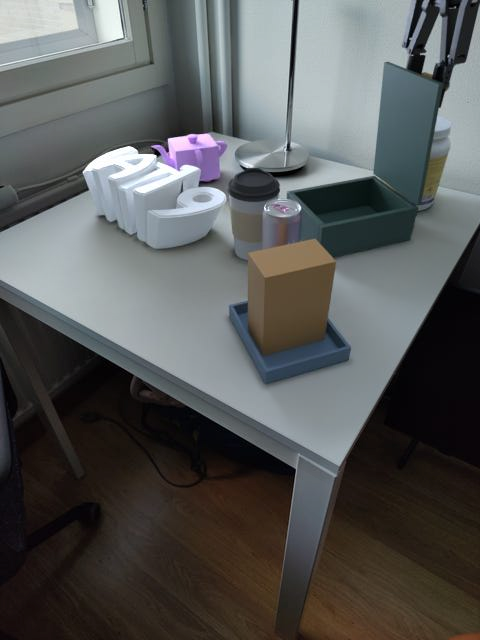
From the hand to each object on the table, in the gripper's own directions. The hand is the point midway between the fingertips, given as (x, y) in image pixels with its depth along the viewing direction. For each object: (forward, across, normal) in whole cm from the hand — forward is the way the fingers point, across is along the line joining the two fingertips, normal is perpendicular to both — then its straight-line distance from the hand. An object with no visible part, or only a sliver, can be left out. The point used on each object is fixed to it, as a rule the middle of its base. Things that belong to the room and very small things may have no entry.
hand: (420, 101), depth 80 cm
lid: (+5, 0, -3) cm, 6 cm away
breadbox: (+23, 0, -11) cm, 26 cm away
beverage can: (+23, +12, -31) cm, 41 cm away
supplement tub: (+24, -7, +8) cm, 26 cm away
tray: (+23, +24, -35) cm, 49 cm away
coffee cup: (+23, 0, -31) cm, 39 cm away
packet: (+22, +24, -35) cm, 48 cm away
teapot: (+23, -36, -34) cm, 54 cm away
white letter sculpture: (+23, -20, -46) cm, 55 cm away
